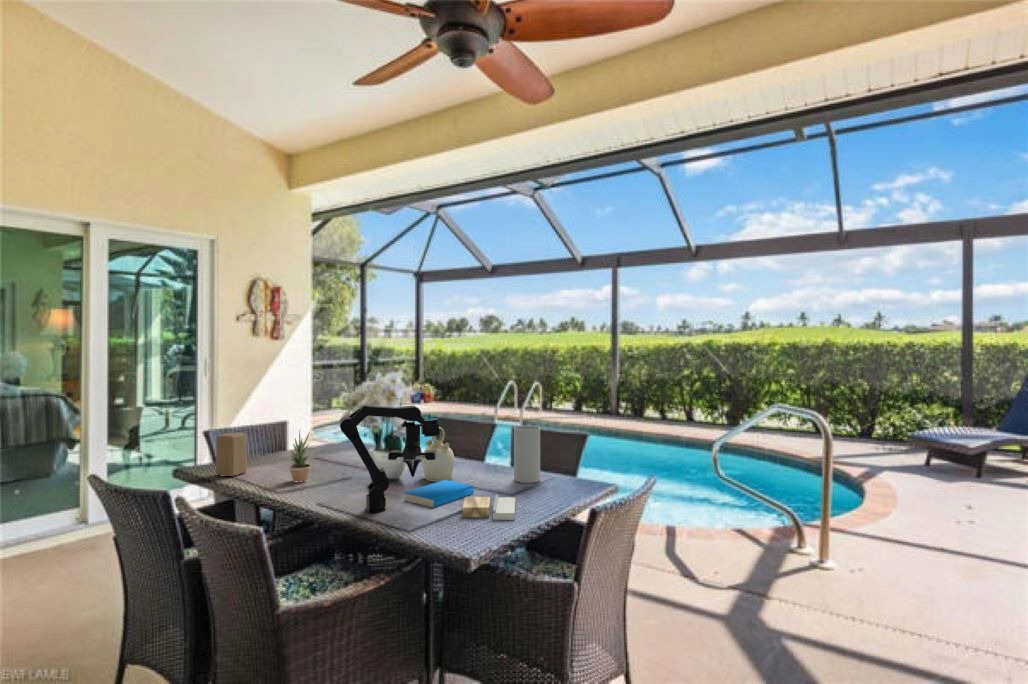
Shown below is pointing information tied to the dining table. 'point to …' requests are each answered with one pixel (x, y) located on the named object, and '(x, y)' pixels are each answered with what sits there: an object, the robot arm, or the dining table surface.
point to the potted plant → (299, 462)
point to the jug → (438, 460)
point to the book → (438, 493)
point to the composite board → (504, 508)
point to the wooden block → (231, 454)
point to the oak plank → (476, 507)
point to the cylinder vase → (527, 454)
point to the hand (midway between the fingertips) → (412, 476)
